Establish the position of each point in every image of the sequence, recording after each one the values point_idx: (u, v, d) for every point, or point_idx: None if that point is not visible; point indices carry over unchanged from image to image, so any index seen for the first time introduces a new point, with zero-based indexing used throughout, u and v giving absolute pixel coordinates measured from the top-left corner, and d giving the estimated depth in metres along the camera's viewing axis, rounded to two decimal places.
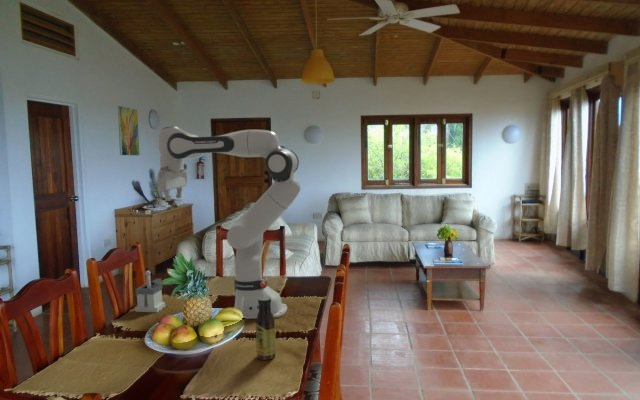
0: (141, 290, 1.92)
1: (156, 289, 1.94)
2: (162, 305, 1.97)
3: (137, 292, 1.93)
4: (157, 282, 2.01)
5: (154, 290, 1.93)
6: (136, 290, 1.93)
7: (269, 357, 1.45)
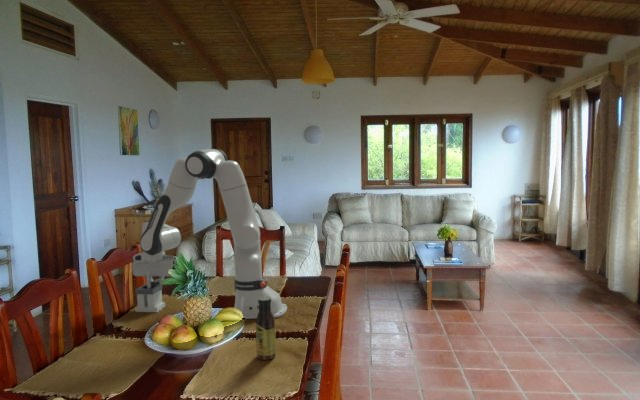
0: (141, 290, 1.92)
1: (156, 289, 1.94)
2: (162, 305, 1.97)
3: (137, 292, 1.93)
4: (157, 282, 2.01)
5: (154, 290, 1.93)
6: (136, 290, 1.93)
7: (269, 357, 1.45)
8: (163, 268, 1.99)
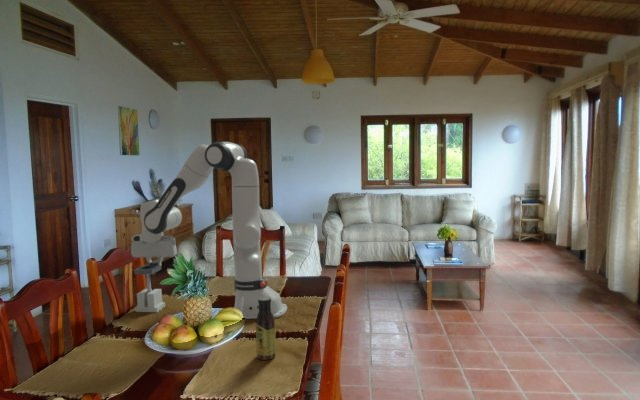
0: (140, 270, 1.91)
1: (155, 269, 1.93)
2: (162, 305, 1.97)
3: (136, 272, 1.92)
4: None
5: (153, 270, 1.92)
6: (135, 270, 1.92)
7: (269, 357, 1.45)
8: (162, 248, 1.98)
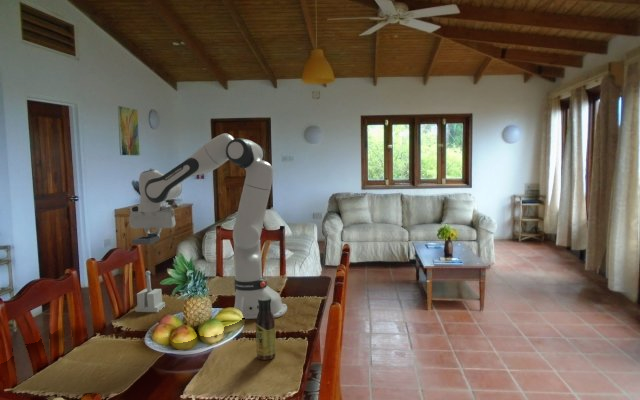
0: (138, 240, 1.91)
1: (153, 239, 1.93)
2: (162, 305, 1.97)
3: (134, 242, 1.91)
4: (154, 234, 2.00)
5: (151, 240, 1.91)
6: (133, 240, 1.91)
7: (269, 357, 1.45)
8: (161, 219, 1.97)
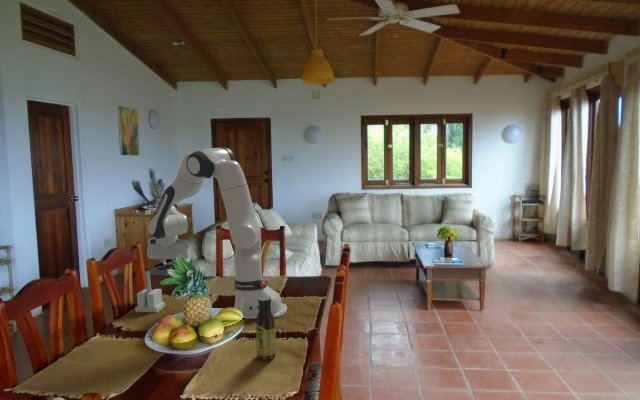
0: (156, 271, 2.05)
1: None
2: (162, 305, 1.97)
3: (152, 273, 2.06)
4: (170, 265, 2.14)
5: None
6: (151, 271, 2.06)
7: (269, 357, 1.45)
8: (177, 251, 2.12)
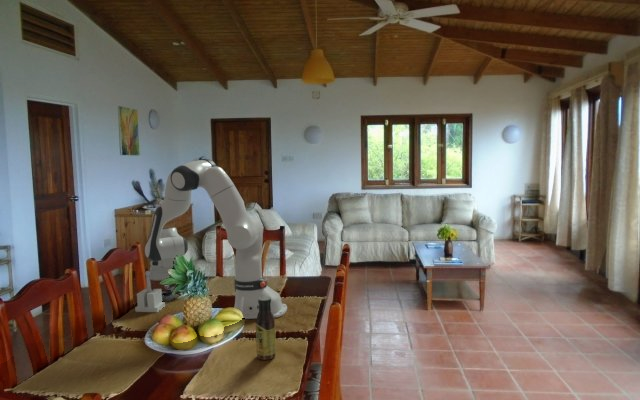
0: None
1: (173, 297, 2.09)
2: (162, 305, 1.97)
3: None
4: None
5: (171, 298, 2.07)
6: None
7: (269, 357, 1.45)
8: None
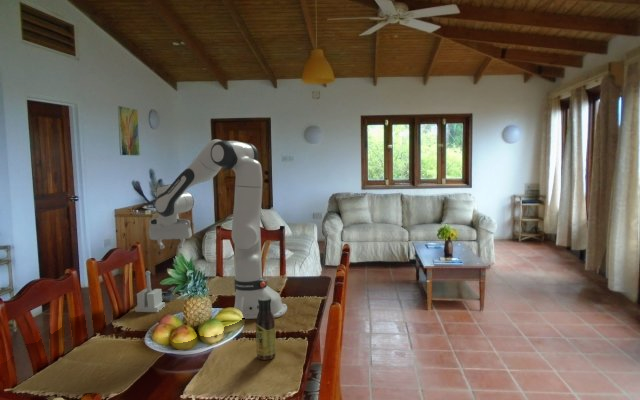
0: None
1: (173, 297, 2.09)
2: (162, 305, 1.97)
3: None
4: None
5: (171, 298, 2.07)
6: None
7: (269, 357, 1.45)
8: (178, 231, 2.10)
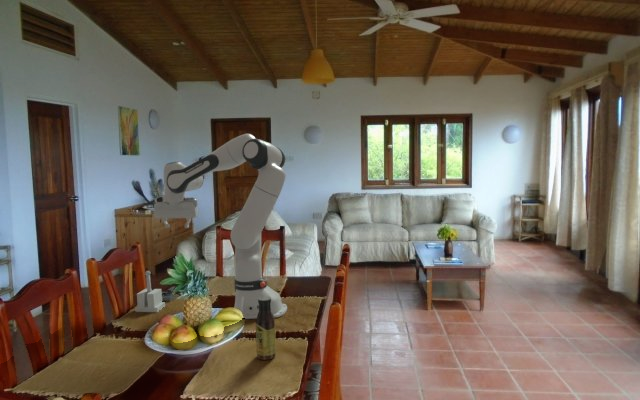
0: None
1: (173, 297, 2.09)
2: (162, 305, 1.97)
3: None
4: None
5: (171, 298, 2.07)
6: None
7: (269, 357, 1.45)
8: (184, 210, 2.05)
